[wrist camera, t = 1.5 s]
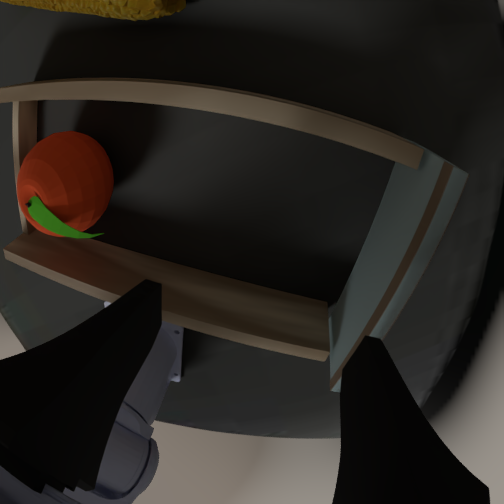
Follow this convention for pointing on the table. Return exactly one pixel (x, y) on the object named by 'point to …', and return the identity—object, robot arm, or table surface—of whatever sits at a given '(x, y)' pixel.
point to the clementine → (65, 184)
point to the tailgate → (394, 254)
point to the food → (110, 7)
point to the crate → (172, 274)
